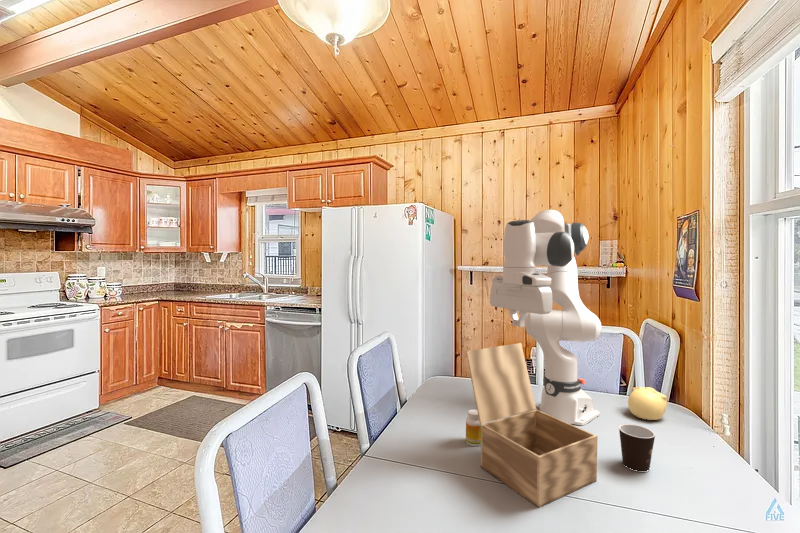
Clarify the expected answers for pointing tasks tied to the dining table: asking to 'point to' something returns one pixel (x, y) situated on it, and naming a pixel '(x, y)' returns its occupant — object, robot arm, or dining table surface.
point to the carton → (539, 455)
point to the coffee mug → (636, 446)
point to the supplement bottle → (473, 429)
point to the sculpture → (647, 403)
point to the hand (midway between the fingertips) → (518, 326)
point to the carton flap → (500, 382)
